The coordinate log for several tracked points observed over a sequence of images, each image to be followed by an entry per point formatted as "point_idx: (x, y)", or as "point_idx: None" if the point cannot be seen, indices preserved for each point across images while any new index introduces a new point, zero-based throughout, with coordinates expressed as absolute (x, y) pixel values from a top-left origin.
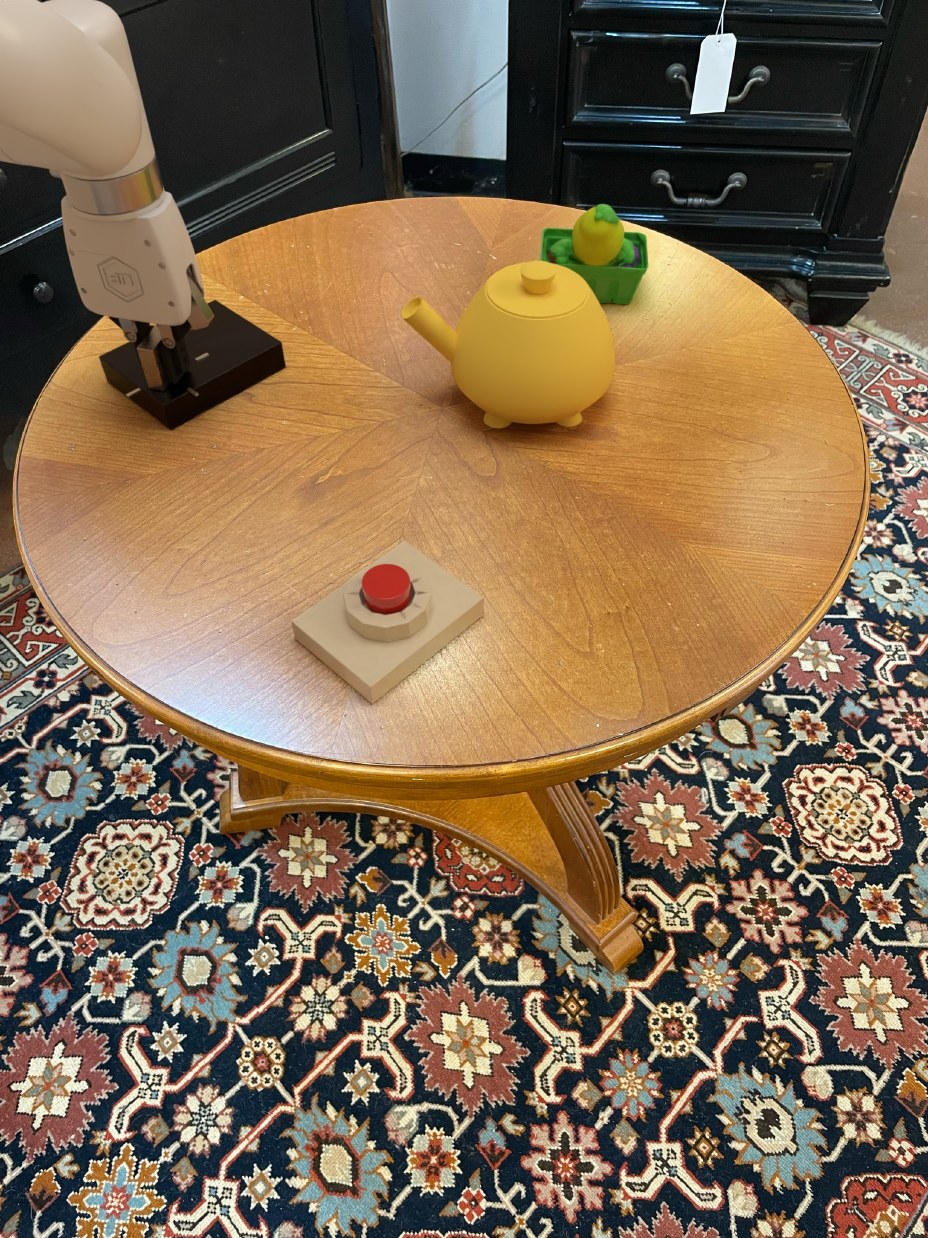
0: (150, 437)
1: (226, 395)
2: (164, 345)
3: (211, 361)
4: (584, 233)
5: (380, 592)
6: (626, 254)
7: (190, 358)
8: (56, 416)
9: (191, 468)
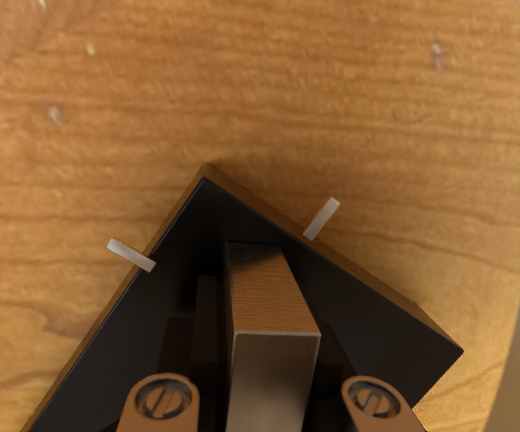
0: (251, 126)
1: (104, 309)
2: (205, 385)
3: None
4: None
5: None
6: None
7: None
8: (505, 170)
9: (79, 2)
